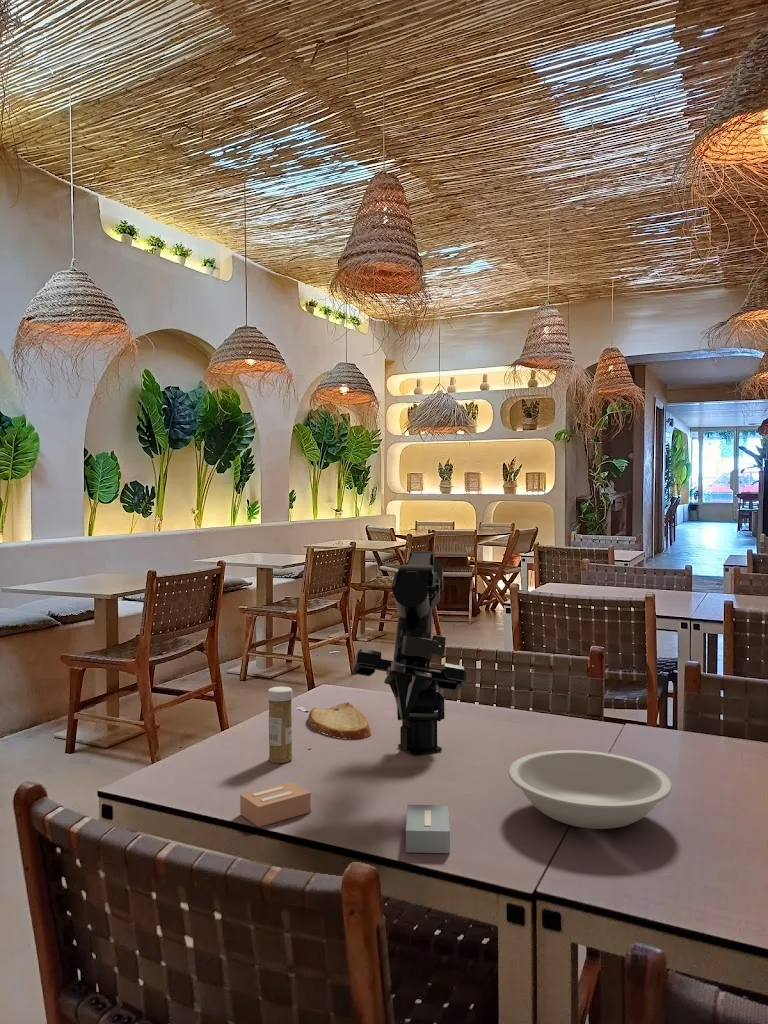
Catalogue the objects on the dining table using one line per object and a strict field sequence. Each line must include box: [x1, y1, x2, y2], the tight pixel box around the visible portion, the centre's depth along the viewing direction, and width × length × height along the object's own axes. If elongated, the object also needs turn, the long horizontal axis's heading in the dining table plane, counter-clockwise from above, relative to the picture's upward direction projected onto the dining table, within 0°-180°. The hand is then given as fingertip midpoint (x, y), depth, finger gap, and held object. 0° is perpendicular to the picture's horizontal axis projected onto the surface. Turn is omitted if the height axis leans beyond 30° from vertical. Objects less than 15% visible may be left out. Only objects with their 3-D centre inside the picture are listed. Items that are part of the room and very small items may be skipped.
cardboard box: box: [239, 781, 312, 828], centre depth 115 cm, size 3×6×9 cm
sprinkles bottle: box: [267, 686, 293, 764], centre depth 140 cm, size 5×5×14 cm
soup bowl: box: [507, 749, 673, 830], centre depth 113 cm, size 24×24×7 cm
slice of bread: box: [307, 701, 372, 740], centre depth 162 cm, size 18×18×4 cm
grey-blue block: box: [405, 804, 451, 854], centre depth 106 cm, size 3×6×9 cm
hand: (404, 720), depth 122 cm, fingers closed
